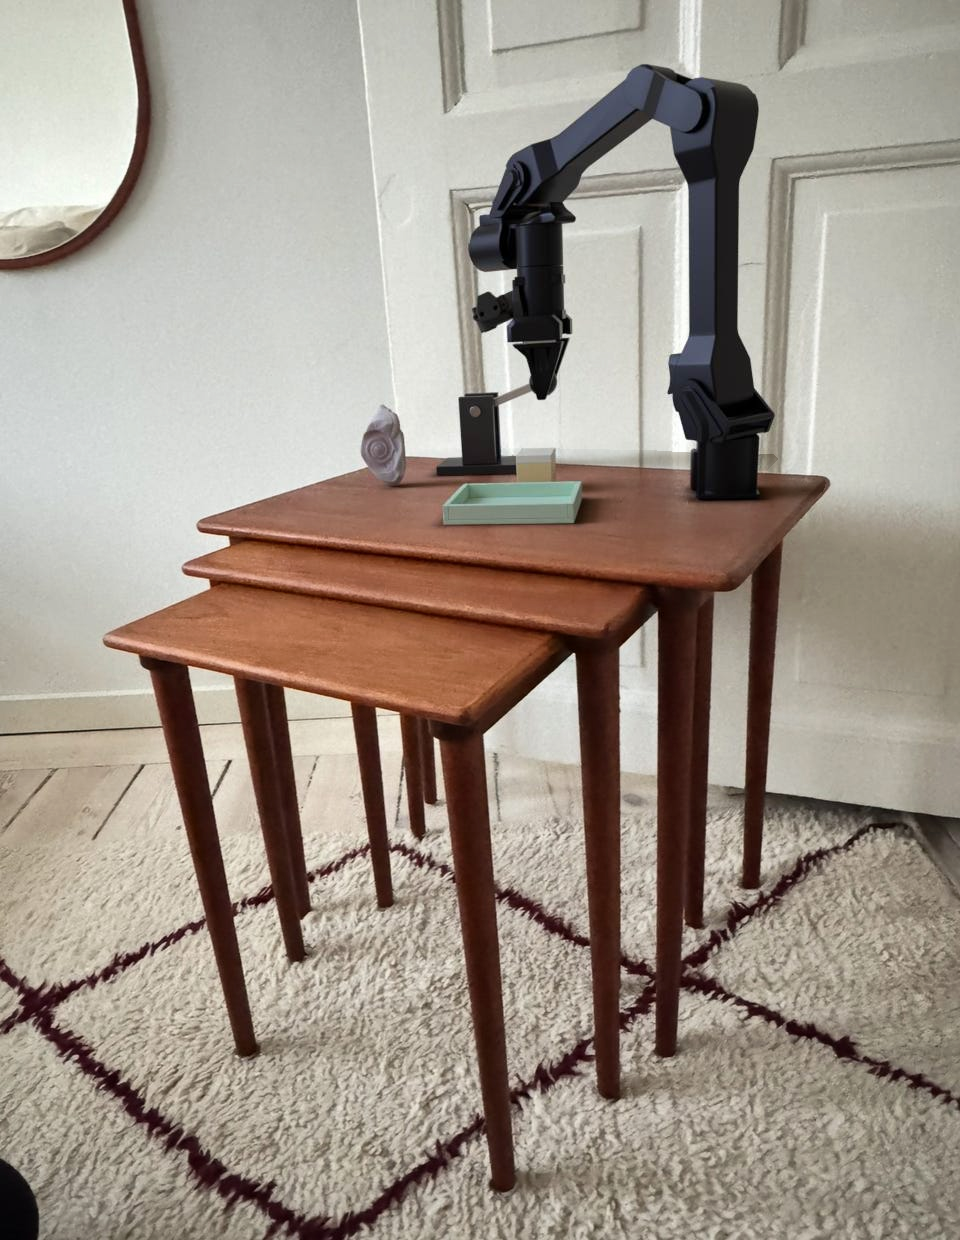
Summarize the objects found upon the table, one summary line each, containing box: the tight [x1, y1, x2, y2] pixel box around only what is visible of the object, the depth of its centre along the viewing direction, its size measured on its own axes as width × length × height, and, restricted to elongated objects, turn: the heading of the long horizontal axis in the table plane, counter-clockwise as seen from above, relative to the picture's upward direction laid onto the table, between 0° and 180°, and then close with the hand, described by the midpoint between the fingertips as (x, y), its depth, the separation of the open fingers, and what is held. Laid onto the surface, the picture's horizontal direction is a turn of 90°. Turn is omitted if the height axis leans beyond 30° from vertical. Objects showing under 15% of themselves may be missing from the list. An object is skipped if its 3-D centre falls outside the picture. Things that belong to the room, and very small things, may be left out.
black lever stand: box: [435, 391, 517, 477], centre depth 117 cm, size 11×7×10 cm, turn 80°
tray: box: [442, 480, 583, 526], centre depth 94 cm, size 13×11×2 cm
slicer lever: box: [486, 373, 558, 407], centre depth 115 cm, size 12×4×4 cm, turn 80°
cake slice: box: [515, 447, 557, 483], centre depth 103 cm, size 4×5×4 cm
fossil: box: [360, 404, 407, 487], centre depth 110 cm, size 6×4×10 cm, turn 68°
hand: (543, 397), depth 114 cm, fingers open, 5 cm apart
